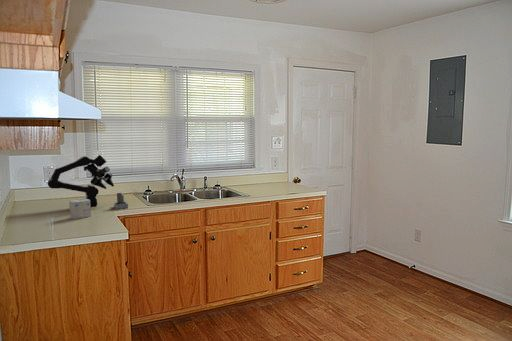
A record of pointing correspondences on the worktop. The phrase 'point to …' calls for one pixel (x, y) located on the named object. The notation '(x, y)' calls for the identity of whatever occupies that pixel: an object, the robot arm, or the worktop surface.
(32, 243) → the worktop surface
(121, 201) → the charger
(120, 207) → the charging dock
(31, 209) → the worktop surface
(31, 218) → the worktop surface
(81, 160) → the robot arm
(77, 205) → the light bulb box
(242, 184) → the worktop surface
